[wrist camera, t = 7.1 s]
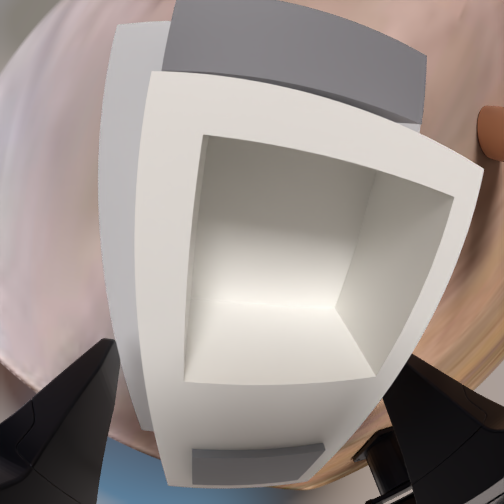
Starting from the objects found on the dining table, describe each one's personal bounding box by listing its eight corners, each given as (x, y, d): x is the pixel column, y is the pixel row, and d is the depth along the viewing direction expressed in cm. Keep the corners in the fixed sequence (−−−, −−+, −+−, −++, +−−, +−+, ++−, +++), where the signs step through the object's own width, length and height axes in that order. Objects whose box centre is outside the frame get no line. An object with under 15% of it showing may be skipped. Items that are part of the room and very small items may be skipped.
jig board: (308, 418, 16) (324, 465, 13) (143, 417, 14) (137, 469, 11) (409, 83, 8) (481, 79, 5) (125, 33, 7) (80, -10, 3)
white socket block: (286, 402, 13) (308, 486, 9) (172, 399, 12) (168, 491, 8) (369, 143, 8) (494, 172, 4) (188, 106, 7) (146, 66, 2)
